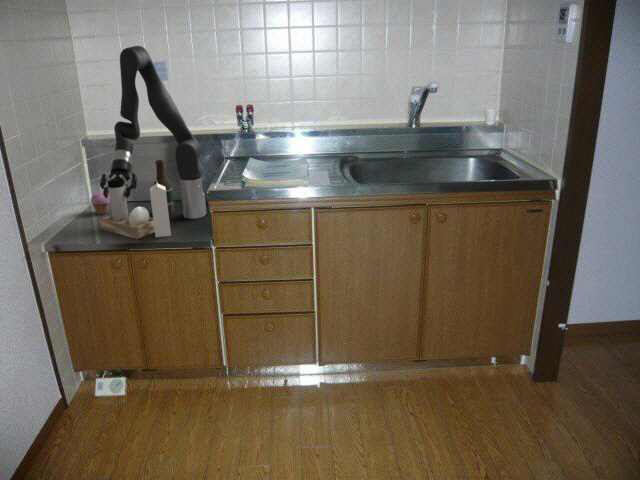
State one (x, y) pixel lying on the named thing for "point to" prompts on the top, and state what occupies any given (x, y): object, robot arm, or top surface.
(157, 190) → the milk
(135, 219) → the saucer
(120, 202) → the travel mug
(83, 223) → the top surface
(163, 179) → the beer bottle
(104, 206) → the cupcake
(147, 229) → the wooden compartment box
